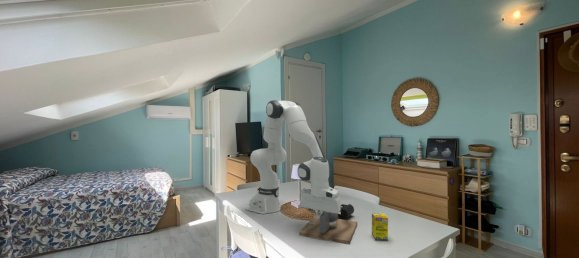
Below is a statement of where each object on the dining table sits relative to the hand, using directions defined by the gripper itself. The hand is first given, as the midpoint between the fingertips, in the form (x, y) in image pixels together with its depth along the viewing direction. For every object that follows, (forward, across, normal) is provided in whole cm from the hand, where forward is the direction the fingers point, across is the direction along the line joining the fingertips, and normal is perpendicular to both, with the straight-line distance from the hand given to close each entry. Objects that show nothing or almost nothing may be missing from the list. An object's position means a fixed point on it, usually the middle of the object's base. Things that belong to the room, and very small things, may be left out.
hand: (319, 218), depth 120 cm
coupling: (+5, +3, +4) cm, 7 cm away
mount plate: (+8, +3, +7) cm, 11 cm away
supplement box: (+8, +27, +9) cm, 29 cm away
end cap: (+8, +5, +28) cm, 29 cm away
